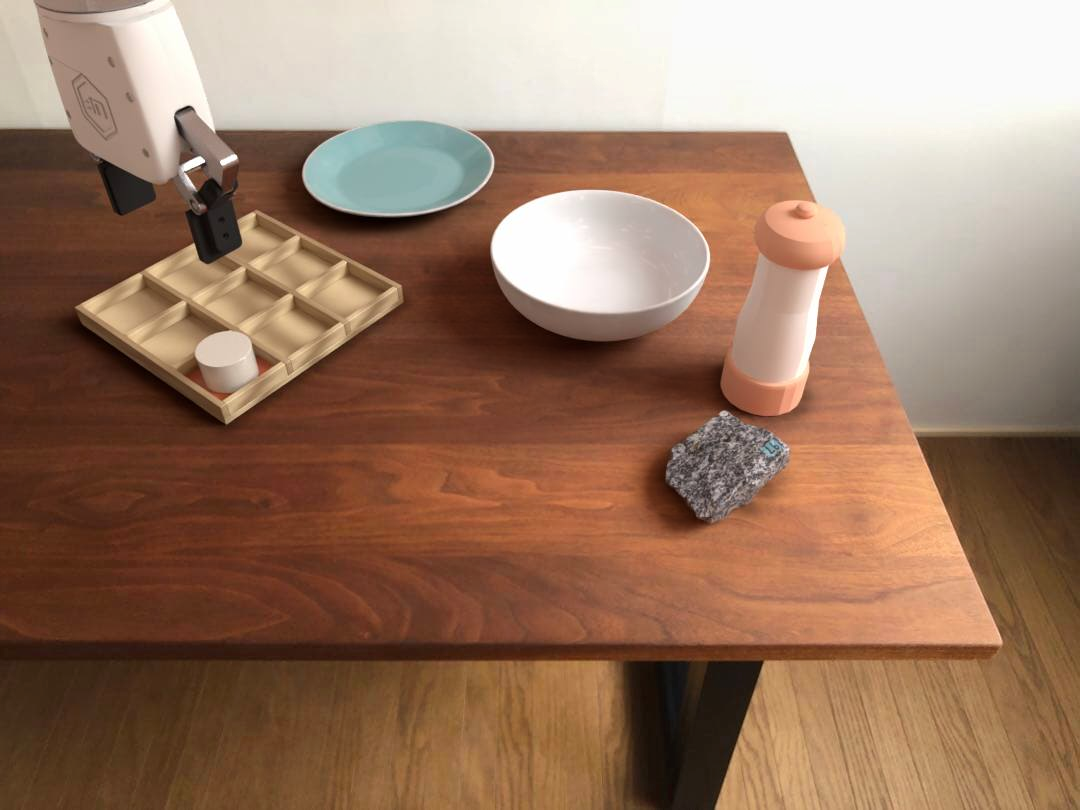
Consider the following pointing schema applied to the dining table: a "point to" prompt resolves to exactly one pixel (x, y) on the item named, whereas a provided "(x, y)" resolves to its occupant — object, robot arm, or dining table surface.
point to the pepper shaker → (781, 307)
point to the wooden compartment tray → (242, 310)
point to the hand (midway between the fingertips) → (177, 229)
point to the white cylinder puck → (226, 361)
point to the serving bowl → (599, 263)
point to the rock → (724, 465)
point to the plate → (398, 168)
